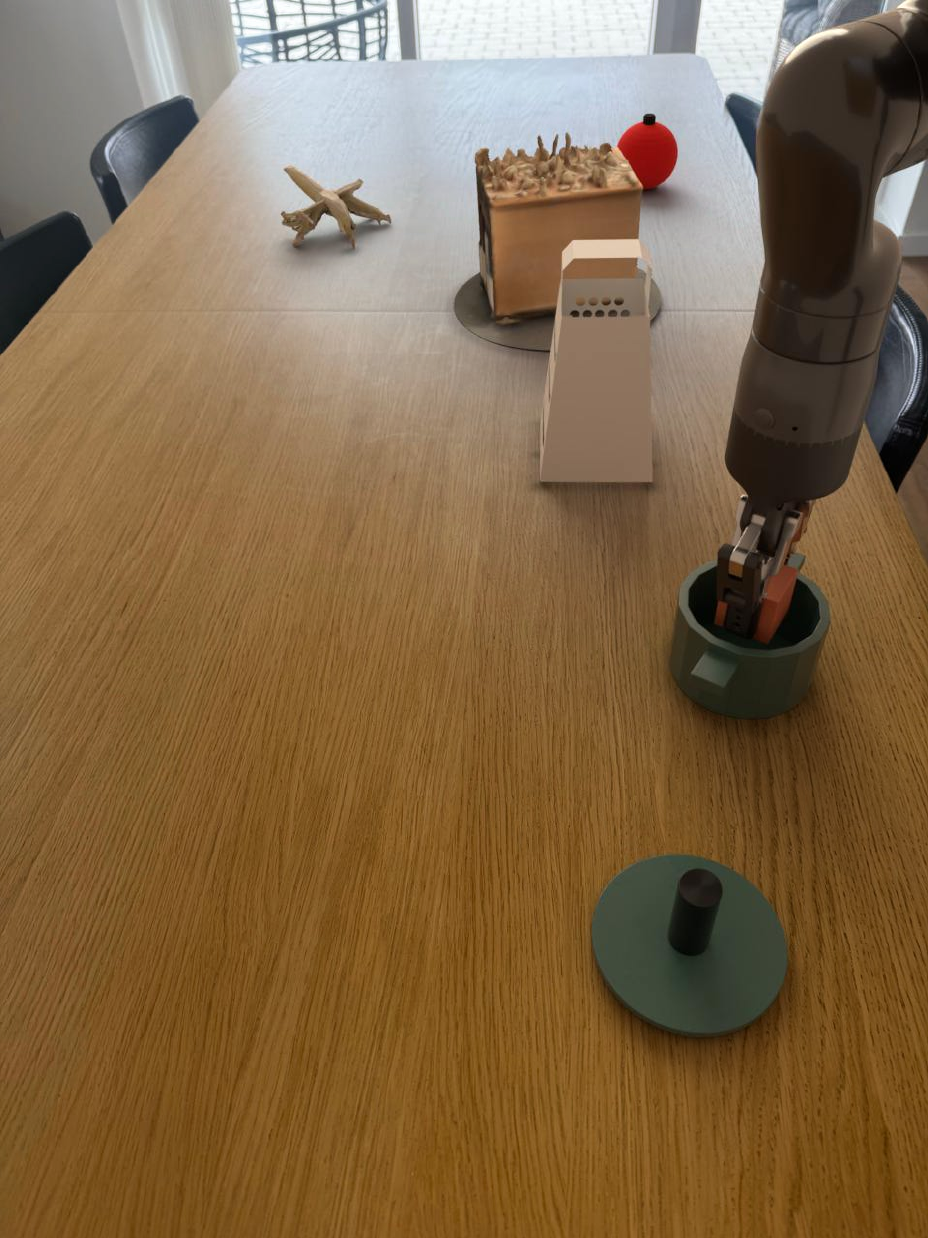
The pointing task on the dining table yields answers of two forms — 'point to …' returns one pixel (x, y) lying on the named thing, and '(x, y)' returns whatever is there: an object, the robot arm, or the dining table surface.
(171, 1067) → the dining table surface
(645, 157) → the ornament
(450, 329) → the dining table surface
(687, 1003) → the lid
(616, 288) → the grater
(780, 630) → the pot
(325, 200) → the branching beige root
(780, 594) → the block
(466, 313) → the planter
